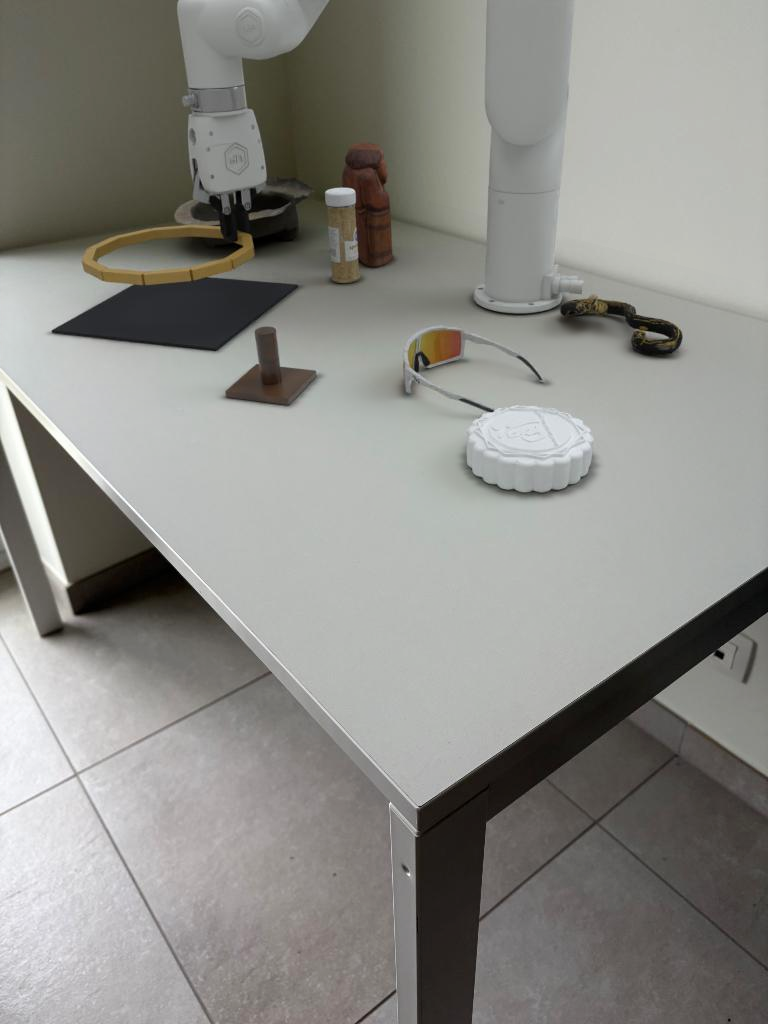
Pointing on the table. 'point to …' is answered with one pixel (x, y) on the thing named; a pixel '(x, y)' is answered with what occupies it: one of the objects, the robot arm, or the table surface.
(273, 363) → the wooden peg stand
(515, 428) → the mooncake
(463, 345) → the sunglasses
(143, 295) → the mat
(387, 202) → the wooden figurine
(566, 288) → the robot arm
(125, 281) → the ring
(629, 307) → the rubber snake
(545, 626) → the table surface
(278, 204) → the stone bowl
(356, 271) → the sprinkles bottle
